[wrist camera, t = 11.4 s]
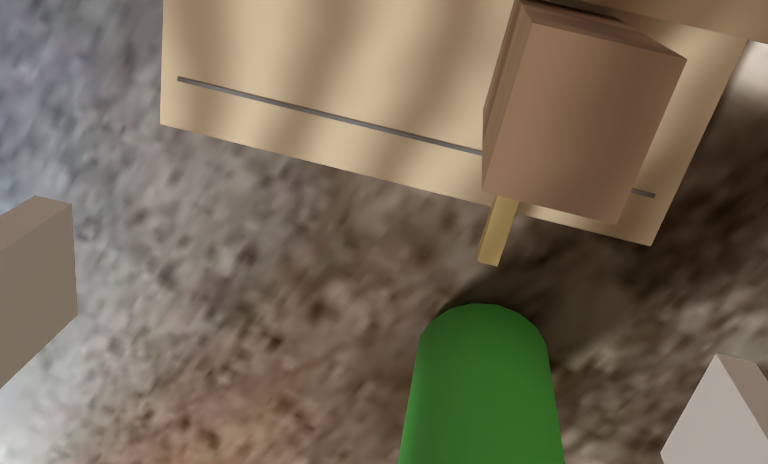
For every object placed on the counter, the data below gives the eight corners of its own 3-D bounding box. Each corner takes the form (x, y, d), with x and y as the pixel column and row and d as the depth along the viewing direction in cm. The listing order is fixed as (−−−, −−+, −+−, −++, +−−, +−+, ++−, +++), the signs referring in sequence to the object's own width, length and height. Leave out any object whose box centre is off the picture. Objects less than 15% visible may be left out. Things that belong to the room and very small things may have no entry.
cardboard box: (446, 236, 36) (430, 360, 25) (516, -7, 30) (532, 23, 19) (527, 256, 36) (545, 390, 25) (614, 17, 30) (687, 59, 19)
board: (169, 118, 37) (134, 138, 33) (179, -141, 31) (136, -152, 27) (645, 237, 36) (664, 271, 32) (758, -9, 29) (798, -2, 26)
